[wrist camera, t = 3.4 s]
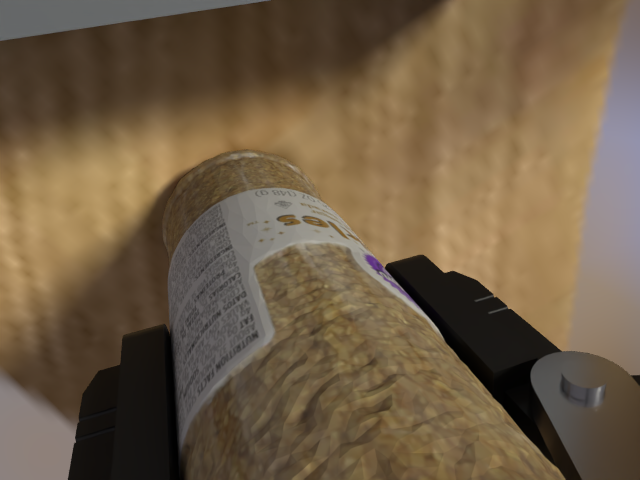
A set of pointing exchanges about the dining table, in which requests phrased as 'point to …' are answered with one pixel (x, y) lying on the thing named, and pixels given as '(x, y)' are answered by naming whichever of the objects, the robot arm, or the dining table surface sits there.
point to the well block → (90, 13)
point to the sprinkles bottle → (312, 346)
